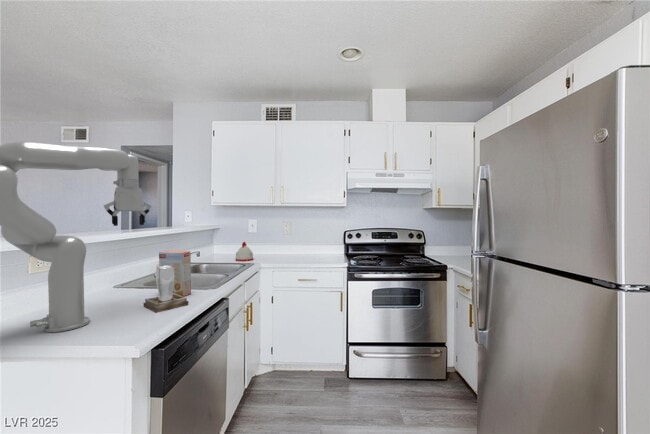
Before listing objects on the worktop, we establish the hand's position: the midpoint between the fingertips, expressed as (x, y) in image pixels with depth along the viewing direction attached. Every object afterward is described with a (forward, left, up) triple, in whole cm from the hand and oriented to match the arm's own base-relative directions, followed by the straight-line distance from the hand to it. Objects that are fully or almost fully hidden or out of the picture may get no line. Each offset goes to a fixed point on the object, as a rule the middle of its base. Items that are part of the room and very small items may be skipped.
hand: (129, 225), depth 128 cm
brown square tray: (+10, -11, -34) cm, 37 cm away
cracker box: (+20, +4, -34) cm, 40 cm away
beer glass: (+10, -11, -33) cm, 36 cm away
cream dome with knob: (+102, +65, -35) cm, 126 cm away
